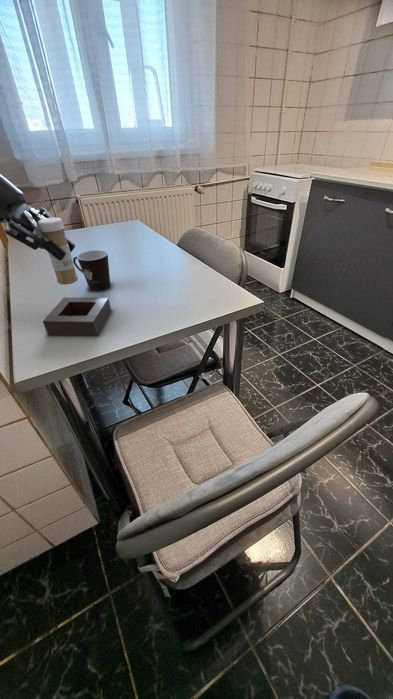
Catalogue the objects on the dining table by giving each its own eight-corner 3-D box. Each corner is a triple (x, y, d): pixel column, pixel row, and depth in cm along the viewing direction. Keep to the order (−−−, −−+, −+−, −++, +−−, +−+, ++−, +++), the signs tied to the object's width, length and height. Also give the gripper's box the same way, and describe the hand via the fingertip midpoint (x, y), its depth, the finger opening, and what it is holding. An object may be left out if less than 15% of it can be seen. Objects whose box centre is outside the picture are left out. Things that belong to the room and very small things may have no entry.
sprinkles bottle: (73, 275, 70) (57, 215, 62) (81, 281, 68) (64, 219, 59) (54, 281, 68) (34, 219, 60) (61, 287, 65) (41, 223, 57)
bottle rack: (97, 336, 70) (93, 321, 67) (48, 335, 70) (42, 321, 68) (111, 310, 79) (108, 297, 77) (68, 310, 80) (63, 297, 77)
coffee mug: (119, 287, 91) (112, 255, 85) (93, 295, 87) (84, 262, 81) (101, 276, 98) (95, 245, 92) (77, 283, 94) (68, 252, 88)
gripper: (-27, 180, 50) (63, 251, 56) (18, 171, 61) (88, 231, 68) (-42, 214, 53) (45, 277, 60) (4, 199, 65) (72, 254, 71)
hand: (68, 252), depth 64 cm, fingers closed on sprinkles bottle, 4 cm apart
